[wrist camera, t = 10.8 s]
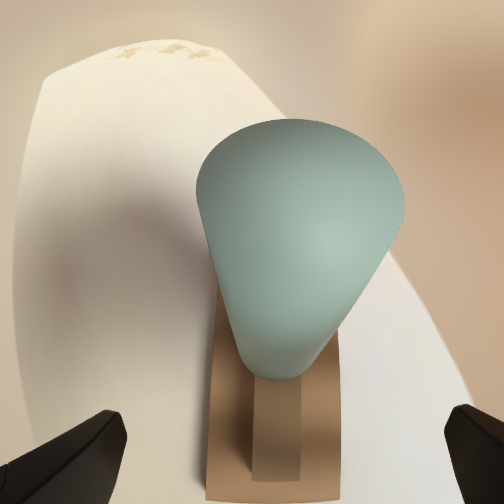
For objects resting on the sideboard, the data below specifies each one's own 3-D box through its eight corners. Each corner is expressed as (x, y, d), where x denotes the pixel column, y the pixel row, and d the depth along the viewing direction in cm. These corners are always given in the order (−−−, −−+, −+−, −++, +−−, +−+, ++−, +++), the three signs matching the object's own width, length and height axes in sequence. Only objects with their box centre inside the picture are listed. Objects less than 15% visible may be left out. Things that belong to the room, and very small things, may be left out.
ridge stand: (334, 495, 15) (349, 508, 12) (209, 495, 16) (197, 509, 12) (324, 233, 26) (332, 202, 22) (226, 232, 26) (220, 200, 23)
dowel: (328, 368, 16) (440, 243, 6) (248, 390, 16) (218, 303, 5) (304, 296, 19) (349, 111, 8) (229, 315, 18) (185, 136, 7)
